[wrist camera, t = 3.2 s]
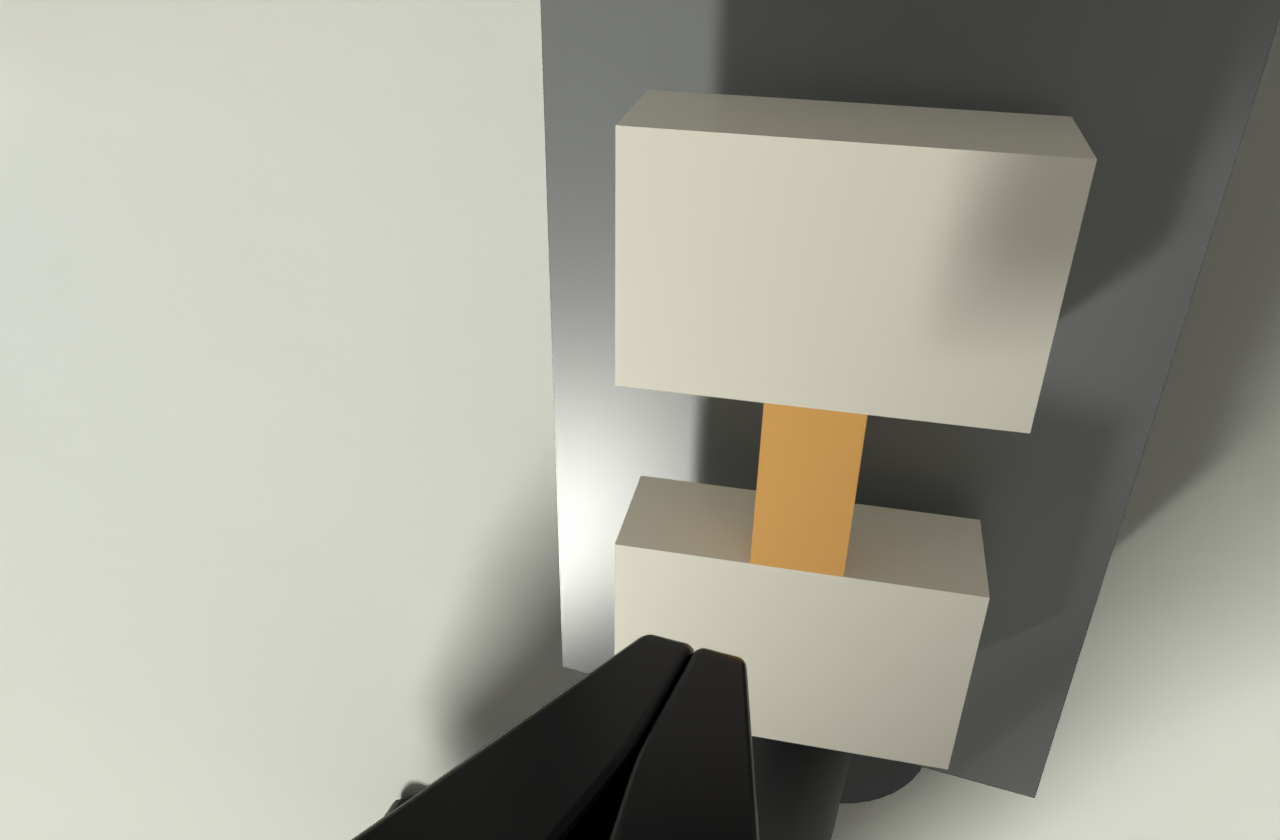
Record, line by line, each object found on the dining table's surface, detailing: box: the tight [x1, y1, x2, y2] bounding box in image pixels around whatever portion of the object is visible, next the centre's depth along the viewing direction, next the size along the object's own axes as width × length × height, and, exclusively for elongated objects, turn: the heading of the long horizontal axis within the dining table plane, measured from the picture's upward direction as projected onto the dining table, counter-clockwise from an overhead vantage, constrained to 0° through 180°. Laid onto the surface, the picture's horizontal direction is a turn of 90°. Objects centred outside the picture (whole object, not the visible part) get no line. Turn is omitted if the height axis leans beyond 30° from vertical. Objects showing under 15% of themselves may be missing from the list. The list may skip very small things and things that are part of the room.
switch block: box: [541, 0, 1280, 798], centre depth 14 cm, size 11×7×4 cm, turn 179°
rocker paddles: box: [614, 90, 1097, 770], centre depth 11 cm, size 7×4×1 cm, turn 179°
